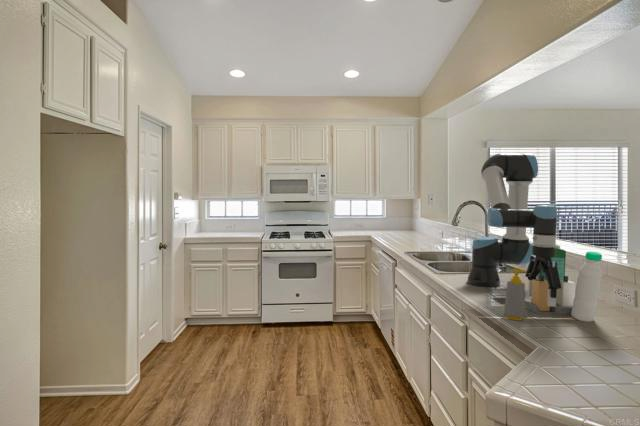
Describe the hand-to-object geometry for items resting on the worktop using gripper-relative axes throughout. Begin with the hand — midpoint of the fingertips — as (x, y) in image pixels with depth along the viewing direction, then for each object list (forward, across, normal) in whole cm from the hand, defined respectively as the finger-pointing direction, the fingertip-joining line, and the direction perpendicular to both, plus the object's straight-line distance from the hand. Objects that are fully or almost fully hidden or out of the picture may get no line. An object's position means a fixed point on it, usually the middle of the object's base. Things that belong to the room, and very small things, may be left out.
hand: (541, 301), depth 149 cm
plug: (+3, 0, 0) cm, 3 cm away
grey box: (+4, 0, +6) cm, 8 cm away
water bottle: (+4, +8, +11) cm, 14 cm away
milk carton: (+4, -13, +10) cm, 17 cm away
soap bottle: (+4, +8, -14) cm, 17 cm away
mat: (+4, -12, -7) cm, 15 cm away
